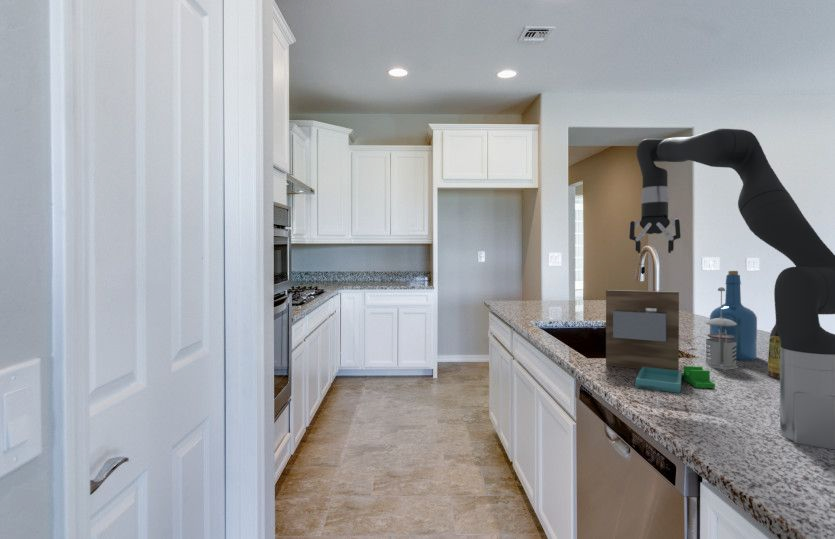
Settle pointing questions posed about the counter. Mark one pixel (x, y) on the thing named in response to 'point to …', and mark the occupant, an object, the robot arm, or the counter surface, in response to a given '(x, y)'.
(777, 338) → the sauce bottle
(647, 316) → the control unit
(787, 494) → the counter surface
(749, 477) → the counter surface
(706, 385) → the pipe clamp
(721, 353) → the french press
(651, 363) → the board
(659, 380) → the tray
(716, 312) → the wine bottle
